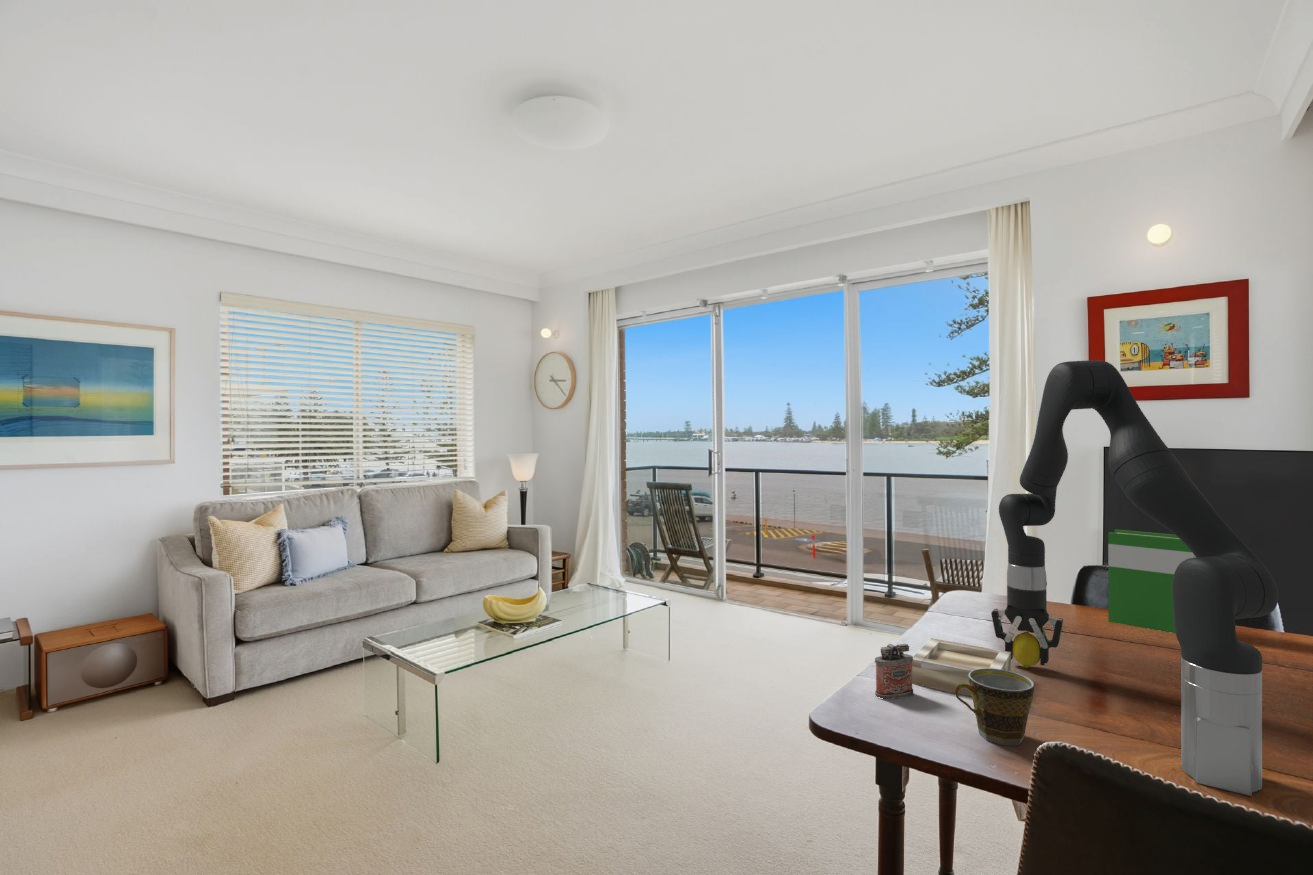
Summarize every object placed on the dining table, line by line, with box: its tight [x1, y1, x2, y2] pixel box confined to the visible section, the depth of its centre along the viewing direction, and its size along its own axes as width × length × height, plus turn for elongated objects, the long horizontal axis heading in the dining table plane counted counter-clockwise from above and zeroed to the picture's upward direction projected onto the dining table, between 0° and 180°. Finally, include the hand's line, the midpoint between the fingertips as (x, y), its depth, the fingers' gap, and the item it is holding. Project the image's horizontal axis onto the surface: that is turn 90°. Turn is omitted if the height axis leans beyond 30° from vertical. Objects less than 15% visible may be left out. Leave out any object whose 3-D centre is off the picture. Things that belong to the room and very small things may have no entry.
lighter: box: [874, 643, 914, 700], centre depth 129 cm, size 8×3×10 cm, turn 105°
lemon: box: [1012, 631, 1041, 669], centre depth 142 cm, size 6×6×8 cm
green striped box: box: [1107, 529, 1196, 635], centre depth 170 cm, size 18×7×24 cm, turn 43°
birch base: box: [912, 637, 1012, 698], centre depth 136 cm, size 16×16×6 cm
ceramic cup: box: [954, 669, 1035, 747], centre depth 111 cm, size 13×10×10 cm
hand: (1026, 661), depth 142 cm, fingers closed on lemon, 5 cm apart
